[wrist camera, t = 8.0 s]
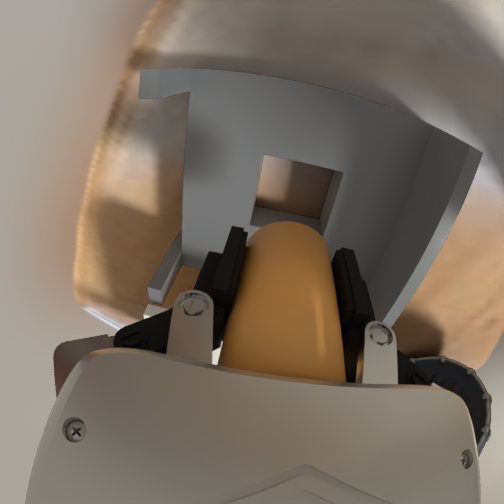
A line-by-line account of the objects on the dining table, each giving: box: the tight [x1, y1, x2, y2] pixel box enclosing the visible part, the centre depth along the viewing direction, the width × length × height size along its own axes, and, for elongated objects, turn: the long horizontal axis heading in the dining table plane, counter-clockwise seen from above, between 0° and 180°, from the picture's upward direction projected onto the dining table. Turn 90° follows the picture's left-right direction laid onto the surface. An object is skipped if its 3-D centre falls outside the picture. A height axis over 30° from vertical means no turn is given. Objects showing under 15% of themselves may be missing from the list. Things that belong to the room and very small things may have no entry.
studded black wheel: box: [410, 356, 492, 457], centre depth 25 cm, size 11×20×20 cm, turn 114°
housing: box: [139, 68, 483, 328], centre depth 22 cm, size 17×30×8 cm, turn 171°
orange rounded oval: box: [217, 221, 346, 382], centre depth 10 cm, size 4×4×7 cm
